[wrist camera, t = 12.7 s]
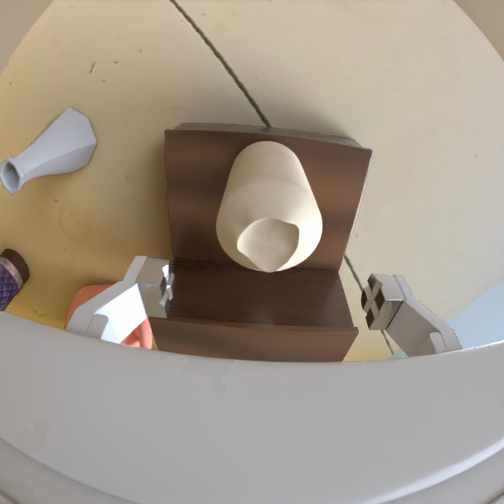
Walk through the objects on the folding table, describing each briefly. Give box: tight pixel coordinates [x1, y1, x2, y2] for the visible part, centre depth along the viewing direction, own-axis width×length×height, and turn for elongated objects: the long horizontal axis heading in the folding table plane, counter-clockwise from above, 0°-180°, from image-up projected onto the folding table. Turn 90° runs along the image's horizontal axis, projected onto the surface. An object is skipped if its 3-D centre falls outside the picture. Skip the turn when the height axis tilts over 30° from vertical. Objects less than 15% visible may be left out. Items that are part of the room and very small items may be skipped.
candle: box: [216, 141, 322, 272], centre depth 17 cm, size 6×6×10 cm
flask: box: [0, 107, 97, 195], centre depth 19 cm, size 7×7×10 cm
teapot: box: [64, 284, 152, 349], centre depth 34 cm, size 12×18×10 cm, turn 97°
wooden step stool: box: [149, 123, 373, 362], centre depth 23 cm, size 18×16×12 cm
